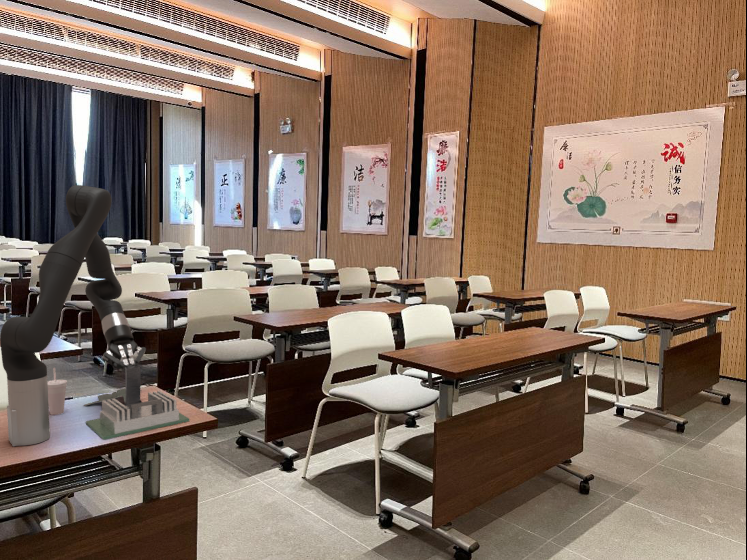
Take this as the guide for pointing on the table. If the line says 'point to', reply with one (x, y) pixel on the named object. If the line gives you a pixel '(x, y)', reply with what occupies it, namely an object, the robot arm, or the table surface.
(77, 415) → the table surface
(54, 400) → the smoothie
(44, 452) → the table surface
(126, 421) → the heatsink
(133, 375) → the dark gray rectangular plate
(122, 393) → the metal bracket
